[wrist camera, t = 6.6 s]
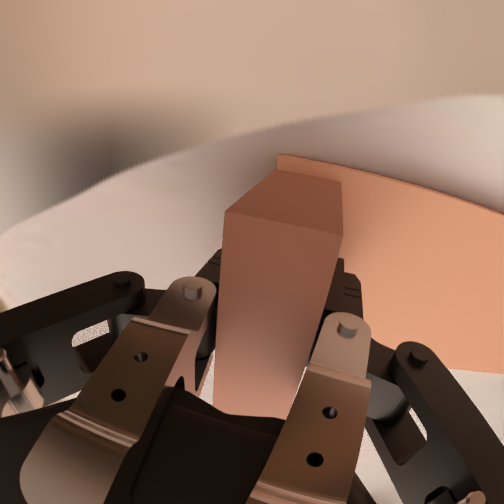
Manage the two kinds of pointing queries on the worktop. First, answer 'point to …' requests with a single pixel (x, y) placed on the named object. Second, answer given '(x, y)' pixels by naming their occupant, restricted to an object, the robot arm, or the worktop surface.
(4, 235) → the worktop surface
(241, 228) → the peach l-shaped block
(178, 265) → the worktop surface
